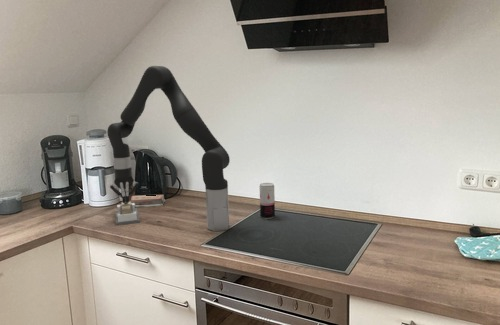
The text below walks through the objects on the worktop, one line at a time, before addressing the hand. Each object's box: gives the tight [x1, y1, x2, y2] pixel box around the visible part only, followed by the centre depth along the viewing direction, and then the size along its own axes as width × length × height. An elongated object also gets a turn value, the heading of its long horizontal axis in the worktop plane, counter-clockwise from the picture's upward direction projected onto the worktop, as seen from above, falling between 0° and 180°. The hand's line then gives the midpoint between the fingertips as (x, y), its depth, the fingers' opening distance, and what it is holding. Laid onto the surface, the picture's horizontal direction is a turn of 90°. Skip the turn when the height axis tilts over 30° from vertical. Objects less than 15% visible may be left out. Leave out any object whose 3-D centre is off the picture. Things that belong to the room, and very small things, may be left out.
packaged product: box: [129, 194, 166, 208], centre depth 205 cm, size 18×5×10 cm
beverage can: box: [259, 182, 276, 220], centre depth 178 cm, size 7×7×15 cm
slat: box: [121, 200, 131, 214], centre depth 184 cm, size 14×4×5 cm, turn 18°
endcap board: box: [115, 203, 140, 226], centre depth 184 cm, size 19×10×4 cm, turn 18°
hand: (126, 203), depth 184 cm, fingers closed
